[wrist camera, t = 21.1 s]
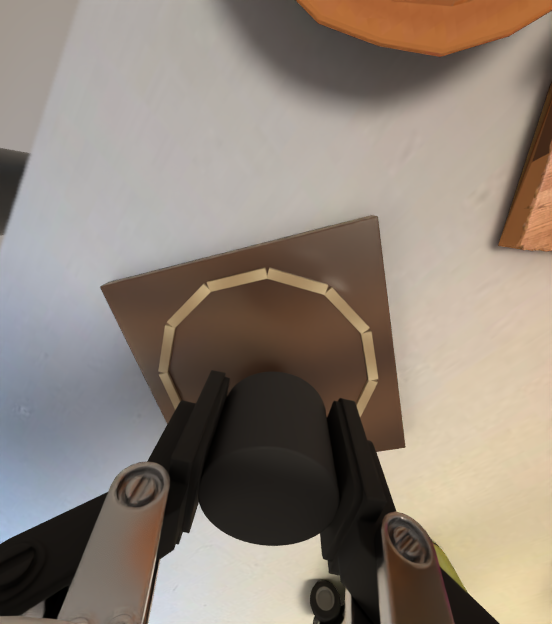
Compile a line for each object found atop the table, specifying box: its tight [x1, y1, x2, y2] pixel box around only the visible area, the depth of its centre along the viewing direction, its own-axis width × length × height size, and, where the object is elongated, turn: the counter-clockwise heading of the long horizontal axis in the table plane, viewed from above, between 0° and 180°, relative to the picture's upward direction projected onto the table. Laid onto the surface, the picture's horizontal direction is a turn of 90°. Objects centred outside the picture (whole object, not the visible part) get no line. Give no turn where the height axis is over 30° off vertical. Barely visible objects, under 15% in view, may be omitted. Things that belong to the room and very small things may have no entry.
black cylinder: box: [198, 372, 340, 546], centre depth 10 cm, size 4×4×4 cm
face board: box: [100, 215, 405, 452], centre depth 19 cm, size 16×16×1 cm
